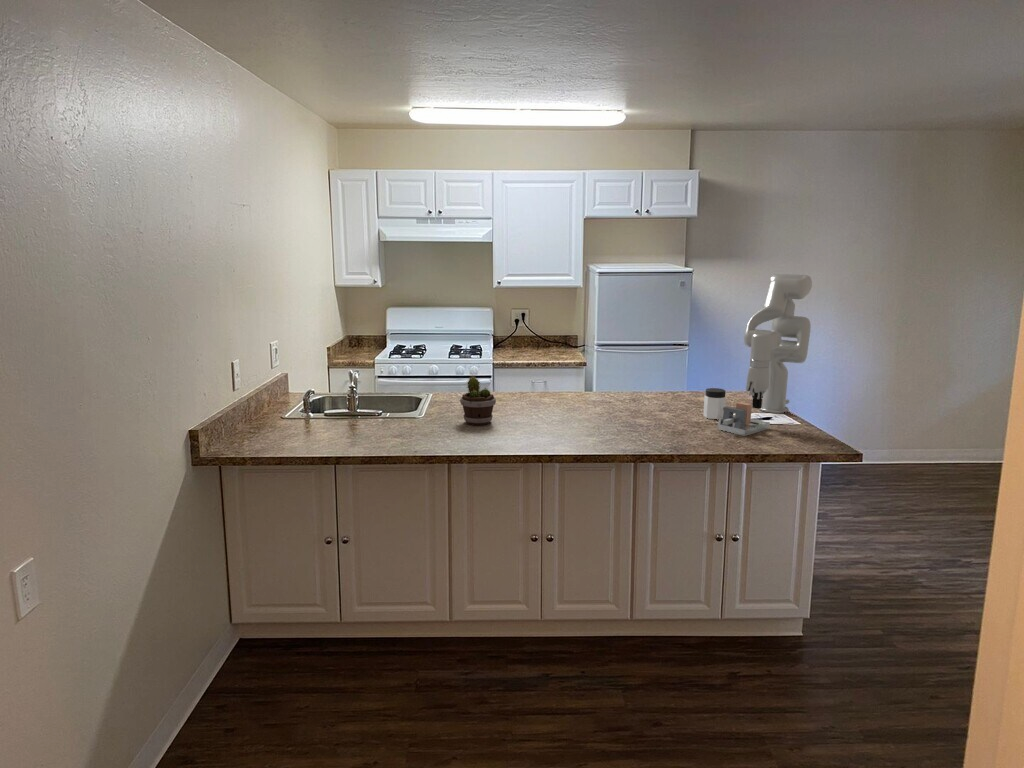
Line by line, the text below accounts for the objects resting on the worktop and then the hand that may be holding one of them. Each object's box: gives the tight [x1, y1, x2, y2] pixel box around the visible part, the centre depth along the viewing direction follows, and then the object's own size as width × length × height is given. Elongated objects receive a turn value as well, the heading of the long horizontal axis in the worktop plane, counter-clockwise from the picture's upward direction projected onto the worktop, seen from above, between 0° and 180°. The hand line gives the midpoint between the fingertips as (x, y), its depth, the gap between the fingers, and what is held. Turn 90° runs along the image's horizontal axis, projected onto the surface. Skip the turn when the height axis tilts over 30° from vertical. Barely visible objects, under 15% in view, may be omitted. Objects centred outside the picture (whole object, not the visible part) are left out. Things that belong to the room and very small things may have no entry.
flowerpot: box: [459, 373, 497, 426], centre depth 296 cm, size 14×15×20 cm
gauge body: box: [717, 405, 771, 437], centre depth 289 cm, size 18×12×10 cm, turn 130°
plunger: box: [723, 401, 759, 425], centre depth 284 cm, size 15×8×8 cm, turn 130°
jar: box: [702, 387, 727, 421], centre depth 307 cm, size 9×8×12 cm
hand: (756, 407), depth 294 cm, fingers closed
